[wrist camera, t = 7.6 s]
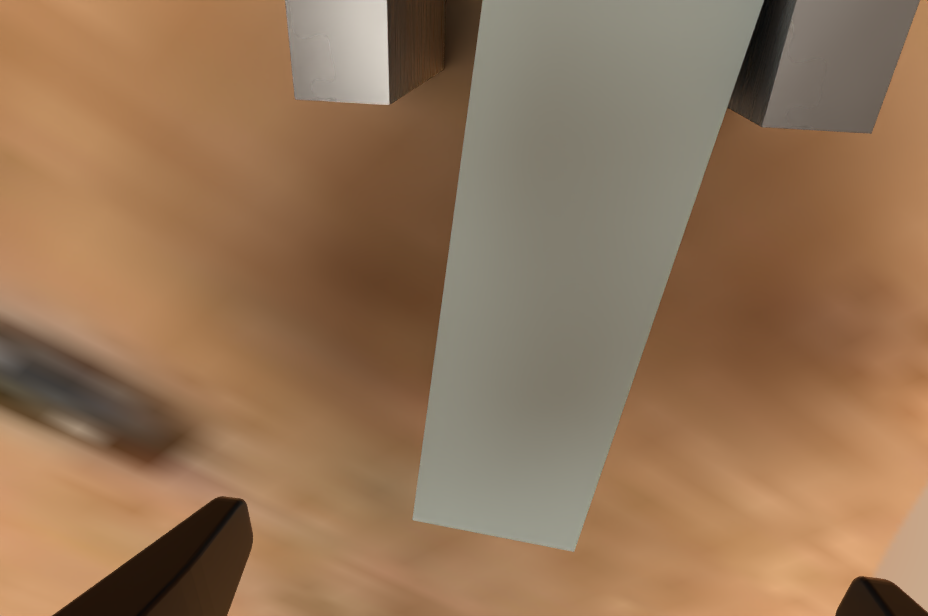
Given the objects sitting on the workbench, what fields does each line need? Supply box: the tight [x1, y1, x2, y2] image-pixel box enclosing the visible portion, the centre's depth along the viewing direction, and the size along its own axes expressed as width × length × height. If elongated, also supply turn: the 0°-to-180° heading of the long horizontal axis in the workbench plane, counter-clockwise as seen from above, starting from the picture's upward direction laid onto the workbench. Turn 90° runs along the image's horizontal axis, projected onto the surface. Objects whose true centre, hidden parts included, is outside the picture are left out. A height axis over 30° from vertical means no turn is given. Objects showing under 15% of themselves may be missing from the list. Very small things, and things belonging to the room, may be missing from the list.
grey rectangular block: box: [413, 0, 764, 552], centre depth 13 cm, size 12×4×5 cm, turn 172°
